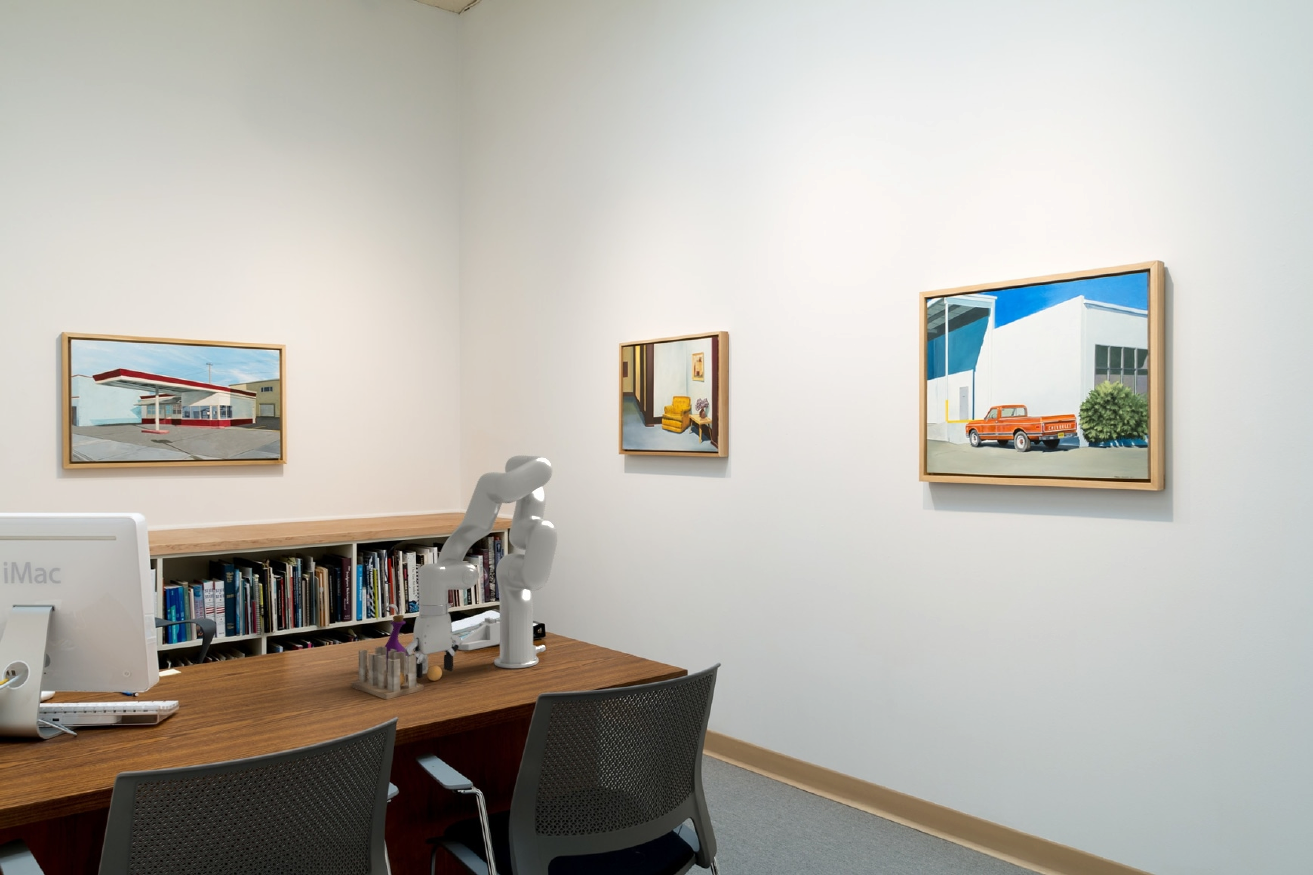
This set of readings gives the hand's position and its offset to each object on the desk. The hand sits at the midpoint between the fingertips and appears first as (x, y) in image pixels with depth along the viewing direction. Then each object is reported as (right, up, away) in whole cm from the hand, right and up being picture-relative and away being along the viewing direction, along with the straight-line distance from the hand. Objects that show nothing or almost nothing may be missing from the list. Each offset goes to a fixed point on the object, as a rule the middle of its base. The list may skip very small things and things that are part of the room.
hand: (433, 673), depth 243 cm
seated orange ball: (-7, -1, -10) cm, 12 cm away
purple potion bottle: (-15, -2, +13) cm, 20 cm away
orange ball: (0, -2, 0) cm, 2 cm away
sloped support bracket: (+6, -2, +41) cm, 42 cm away
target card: (-7, -2, +7) cm, 10 cm away
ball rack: (-10, -2, -7) cm, 13 cm away
